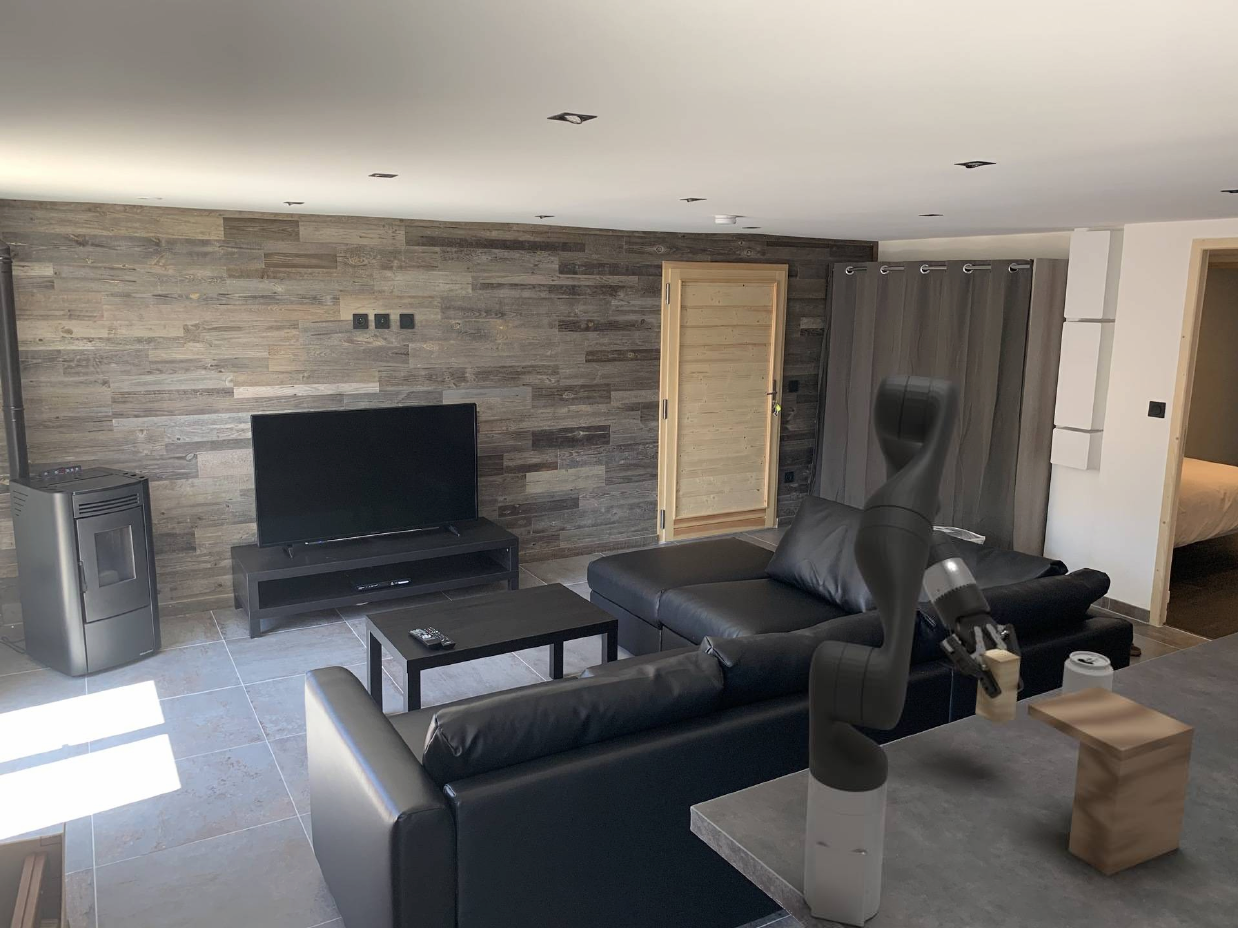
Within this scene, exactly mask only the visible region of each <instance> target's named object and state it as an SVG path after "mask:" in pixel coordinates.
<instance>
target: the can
mask: <svg viewBox="0 0 1238 928" xmlns="http://www.w3.org/2000/svg"><path fill="white" fill-rule="evenodd" d="M1062 676H1063V678H1062V688H1061V696H1062V695H1065V694H1069V693H1073V692H1077V691H1080V690H1084V689H1088V688H1091V687H1095V686H1100V687H1102V688H1104V689H1106V690H1109V691H1111V692H1112V690H1113V689H1112V687H1113V679H1114V669H1113V667H1112V666H1111V661H1110V658H1108V657H1107V656H1104V655H1103V654H1099V653H1096V652H1093V651H1092V652H1091V651H1081V650H1080V651H1079V650H1078V651H1073V652H1072V653H1070V654H1069V658H1067V659H1066V661H1064V668H1063V675H1062Z"/></svg>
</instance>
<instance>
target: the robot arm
mask: <svg viewBox="0 0 1238 928" xmlns="http://www.w3.org/2000/svg"><path fill="white" fill-rule="evenodd" d="M875 394H876V395H875V399H874V403H873V404H874V405H873V417H872V418H873V426H874V428H873V429H874V432H875V436H876V438H877V442H878V446H879V448H880V451H881V453H882V456H883V459H884V465H885V480H886V481H885V482H884V483H883V484H882V485H881V486H880V487H878V488H877V489H876V490H875V491H874V493H872V494H871V496H869V498H868V499H867V500H866V502H865V503H864V505H863V508H862V510H861V514H860V518H859V522H858V526H857V529H856V530H857V532H856V535H855V540H854V543H853V554H854V560H855V564H856V565H857V568H858V571H859V573H860V575H861V579H862V580H863V583H864V584H865V587H866V588H867V590H868V592H869V594H870V596H871V598H872V600H873V602H874V604H875V607H876V610H877V612H878V616H879V619H880V621H881V625H882V629H883V634H884V635H883V636H884V637H883V639H884V640H883V643H882V646H881V647H873V646H868V645H863V644H855V643H851V642H844V641H836V640H823V641H822V642H821V643H819V645H818V646H817V648H815V650H814V653H813V655H812V658H811V662H810V667H809V678H808V709H809V710H808V715H809V728H808V729H809V735H808V736H809V739H808V751H809V753H808V754H809V761H808V783H807V784H808V787H807V806H806V826H805V827H806V829H805V848H804V850H805V851H804V872H803V873H804V875H803V898H804V900H805V903H806V905H807V906H808V907H809V908H810V910H811V911H810V913H811V914H810V915H811V916H812V917H814V918H818V919H823V920H829V921H833V922H839V923H843V924H846V925H852V926H857V927H864V926H865V923H866V921H867V920H869V919H871V918H873V917H874V916H875V915H876V914H877V913H878V911H879V909H880V903H881V901H880V900H881V888H882V887H881V886H882V871H883V870H882V868H883V853H884V852H883V851H884V838H885V823H886V822H885V820H886V819H885V818H886V802H887V793H888V792H887V791H888V789H887V788H888V777H889V776H888V772H889V758H888V755H887V753H886V751H885V750H884V749H883V747H881V745H880V744H878V743H877V742H876V741H874V740H873V739H871V738H870V737H868V736H866V735H865V734H863V733H862V732H861V731H858V730H857V729H855V728H854V727H853V726H852V725H854V726H860V727H865V728H869V729H875V730H882V731H883V730H884V731H889V730H892V729H893V728H895V727H896V726H897V724H898V723H899V721H900V718H901V717H902V714H903V713H902V712H903V710H904V705H905V702H906V697H907V695H906V694H907V688H908V681H909V680H908V679H909V674H910V673H909V672H910V665H911V655H912V647H913V638H914V632H915V625H916V624H915V623H916V618H917V617H916V616H917V610H918V605H919V599H920V596H921V593H922V592H921V591H922V586H924V589H925V591H926V594H927V596H928V597H929V600H930V601H931V604H932V605H933V607H934V609H935V611H936V613H937V615H938V617H939V618H940V621H941V623H942V625H943V627H945V628H946V629H948V630H949V632H950V634H949V636H948V637H947V638H945V639H944V640H942V641H941V642H940V643H939V645H940V648H941V649H942V650H943V651H944V652H945V654H946V656H948V658H950V660H951V661H952V663H954V664H955V666H956V667H957V668H958V669H959V670H960V672H961V673H962V674H963V675H965V676H967V675H973V676H974V677H976V678H977V680H979V682H980V683H981V685H982V687H983V689H984V691H985V693H986V694H987V695H989V697H990V698H991V699H993V698H996V697H997V696H999V695H1001V694H1002V691H1001V689H1000V687H999V685H998V684H997V682H996V680H995V678H994V676H993V674H992V672H991V670H990V671H988V669H989V667H988V664H987V662H986V660H985V658H984V654H986V651H989V650H994V649H1000V650H1005V651H1007V652H1010V653H1012V654H1014V655H1016V656H1019V657H1020V659H1021V658H1022V653H1021V651H1020V646H1019V644H1018V639H1017V634H1016V631H1015V627H1014V626H1013V624H1011V623H1007V624H1005V625H1002V624H998V623H997V622H996V621H995V620H994V619H993V618H992V617H991V616H990V609H991V608H990V605H989V603H988V601H987V599H986V598H985V596H984V594H983V592H982V590H981V589H980V587H979V585H978V583H977V581H976V580H975V578H974V576H973V575H972V574H973V573H971V571H970V569H969V567H968V566H967V565H966V563H965V562H964V561H963V559H962V558H961V555H960V553H959V552H958V550H957V549H956V546H955V545H954V543H953V541H952V540H951V537H950V536H949V535H948V533H947V532H946V531H944V530H942V529H935V528H934V527H935V522H936V517H937V516H938V515H939V513H940V512H941V509H942V500H941V498H940V496H939V493H940V487H941V483H942V478H943V472H944V469H945V464H946V462H947V459H948V458H947V457H948V452H949V450H950V446H951V442H952V438H953V435H954V432H955V427H956V423H957V418H958V413H959V407H960V406H959V405H960V404H959V403H960V397H959V396H960V395H959V394H960V393H959V390H958V387H957V385H955V383H953V381H950V380H946V379H942V378H936V377H935V378H934V377H930V376H929V377H928V376H920V375H909V374H902V373H901V374H898V373H897V374H888V375H886V376H884V377H883V379H882V380H881V381H880V383H879V386H878V388H877V391H876V393H875ZM1024 688H1025V685H1024V680H1023V679H1022V677H1021V675H1020V674H1019V679H1018V687H1017V693H1018V692H1020V691H1022V690H1023V689H1024Z"/></svg>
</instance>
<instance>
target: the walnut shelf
mask: <svg viewBox="0 0 1238 928" xmlns="http://www.w3.org/2000/svg"><path fill="white" fill-rule="evenodd" d="M1027 706H1028V707H1027V715H1028V716H1029V717H1031V718H1034V719H1036V720H1038V721H1040V722H1041V723H1043V724H1045V725H1047V726H1049V727H1051V728H1053V729H1056V730H1057V731H1059V732H1061V733H1063V734H1065V735H1067V736H1070V738H1073V739H1075V740H1077V741H1079V747H1078V757H1077V767H1076V774H1075V775H1076V776H1075V785H1074V795H1073V805H1072V816H1071V824H1070V835H1069V843H1068V852H1070V853H1071V854H1073V855H1074V856H1076V857H1078V858H1079V859H1081V860H1083V861H1084V862H1086V863H1088V865H1090V866H1092V867H1093V868H1095V869H1097V870H1098V871H1100V872H1101V873H1103V874H1105V875H1106V876H1111V875H1114V874H1115V873H1119V872H1121V871H1123V870H1126V869H1128V868H1130V867H1131V868H1132V867H1133V866H1136V865H1139V864H1141V863H1143V862H1146V861H1149V860H1151V859H1153V858H1156V857H1159V856H1161V855H1163V854H1166V853H1169V852H1171V851H1174V850H1176V849H1179V847H1180V839H1181V833H1182V824H1183V818H1184V816H1183V815H1184V809H1185V803H1186V802H1185V801H1186V794H1187V785H1188V779H1189V771H1190V762H1191V755H1192V748H1193V747H1192V746H1193V741H1194V734H1195V733H1194V731H1195V727H1194V726H1191V725H1189V724H1186V723H1184V722H1182V721H1179V720H1178V719H1175V718H1173V717H1170V716H1168V715H1166V714H1164V713H1162V712H1159V711H1157V710H1154V709H1152V708H1149V707H1148V706H1145V705H1142V704H1141V703H1138V702H1136V701H1134V700H1132V699H1129V698H1128V697H1125V696H1122V695H1119V694H1118V693H1115V692H1113V691H1112V690H1111V691H1109V690H1106V689H1104V688H1102V687H1100V686H1095V687H1091V688H1088V689H1084V690H1080V691H1077V692H1073V693H1069V694H1065V695H1062V694H1061V695H1058V696H1055V697H1051V698H1047V699H1044V700H1040V701H1036V702H1033V703H1029V704H1028V705H1027Z"/></svg>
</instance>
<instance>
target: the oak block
mask: <svg viewBox="0 0 1238 928" xmlns="http://www.w3.org/2000/svg"><path fill="white" fill-rule="evenodd" d="M984 658H985V660H986V662H987V664H988V667H989V669H988V671H990V670H991V672H992V674H993V676H994V678H995V680H996V682H997V684H998V685H999V687H1000V689H1001V691H1002V694H1001V695H999V696H997V697H996V698H993V699H991V698H990V697H989V695H987V694H986V693H985V691H984V689H983V687H982V685H981V683H980V682H979V680H978V679H977V680H978V681H977V690H976V691H977V692H976V703H975V704H976V705H975V714H976V715H977V716H980V717H981V718H984V719H986V720H988V721H989V722H991V723H993V724H994V725H998V724H1001V723H1004V722H1008V721H1012V720H1015V719H1016V709H1017V698H1018V692H1017V687H1018V679H1019V675H1020V667H1021V666H1020V665H1021V658H1020V657H1019V656H1016V655H1014V654H1012V652H1011V653H1010V652H1007V651H1005V650H1000V649H997V648H993V649H992V650H989V651H986V654H984Z"/></svg>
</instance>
